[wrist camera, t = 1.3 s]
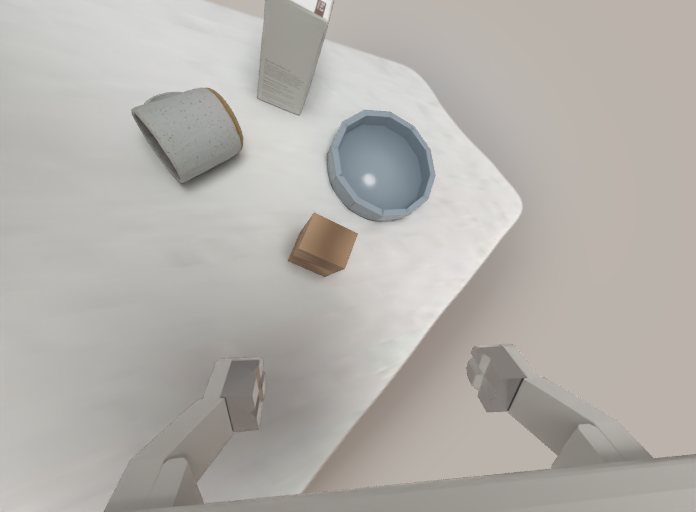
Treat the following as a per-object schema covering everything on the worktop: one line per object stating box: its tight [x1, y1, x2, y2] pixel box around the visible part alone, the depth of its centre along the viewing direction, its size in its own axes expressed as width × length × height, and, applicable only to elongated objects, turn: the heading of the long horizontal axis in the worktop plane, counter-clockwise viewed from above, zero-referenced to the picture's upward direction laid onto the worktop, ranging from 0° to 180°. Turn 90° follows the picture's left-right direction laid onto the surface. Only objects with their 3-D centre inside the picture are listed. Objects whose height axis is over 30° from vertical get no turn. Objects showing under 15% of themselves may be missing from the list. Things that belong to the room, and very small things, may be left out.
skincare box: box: [257, 0, 334, 115], centre depth 32 cm, size 8×6×15 cm
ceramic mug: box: [132, 88, 243, 183], centre depth 31 cm, size 11×8×8 cm
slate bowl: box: [327, 110, 435, 222], centre depth 40 cm, size 15×15×3 cm
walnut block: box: [288, 213, 358, 277], centre depth 33 cm, size 5×4×8 cm
